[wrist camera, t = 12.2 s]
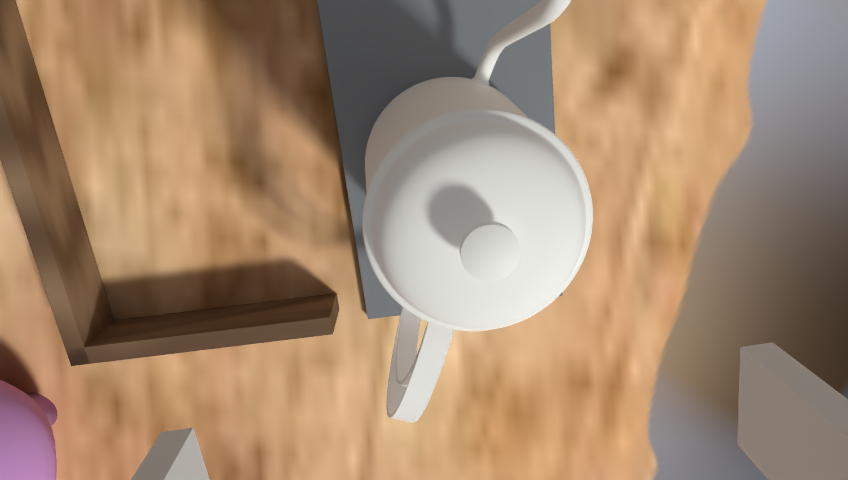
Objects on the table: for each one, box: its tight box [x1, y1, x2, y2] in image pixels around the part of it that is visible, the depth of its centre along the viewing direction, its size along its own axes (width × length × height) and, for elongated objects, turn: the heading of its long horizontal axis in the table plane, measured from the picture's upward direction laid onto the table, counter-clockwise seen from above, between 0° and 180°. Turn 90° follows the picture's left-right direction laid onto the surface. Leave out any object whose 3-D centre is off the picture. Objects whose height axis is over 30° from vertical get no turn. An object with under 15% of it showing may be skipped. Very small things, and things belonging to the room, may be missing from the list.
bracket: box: [0, 0, 339, 366], centre depth 35 cm, size 30×17×4 cm, turn 7°
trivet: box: [317, 0, 562, 319], centre depth 38 cm, size 22×14×1 cm, turn 7°
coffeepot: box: [362, 0, 593, 423], centre depth 28 cm, size 11×25×19 cm, turn 163°
